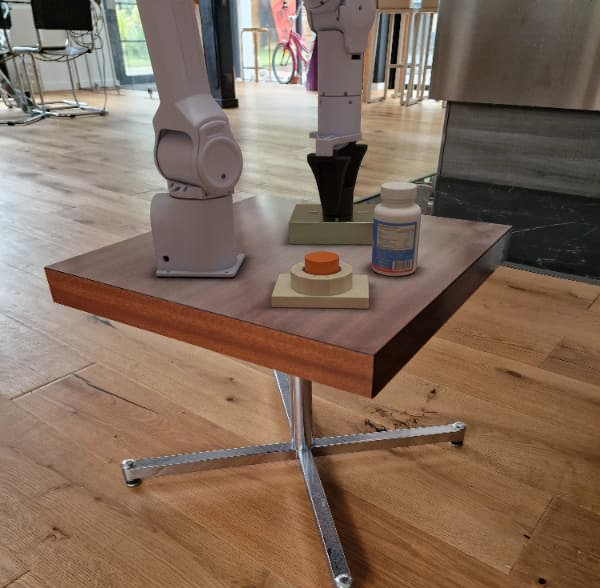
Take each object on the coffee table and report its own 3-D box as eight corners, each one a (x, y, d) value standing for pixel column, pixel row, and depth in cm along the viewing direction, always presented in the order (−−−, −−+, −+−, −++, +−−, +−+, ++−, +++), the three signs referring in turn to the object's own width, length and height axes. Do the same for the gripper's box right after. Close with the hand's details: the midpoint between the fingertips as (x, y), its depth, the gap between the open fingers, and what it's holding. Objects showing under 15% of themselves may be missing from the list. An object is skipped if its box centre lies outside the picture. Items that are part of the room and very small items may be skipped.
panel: (289, 244, 79) (288, 220, 77) (296, 223, 88) (295, 202, 86) (383, 244, 78) (385, 221, 76) (380, 224, 87) (381, 203, 85)
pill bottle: (382, 260, 72) (387, 178, 67) (422, 266, 69) (431, 182, 64) (363, 272, 68) (367, 187, 63) (405, 280, 65) (413, 191, 60)
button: (303, 277, 59) (303, 261, 58) (306, 266, 62) (305, 251, 61) (338, 278, 59) (338, 261, 58) (339, 267, 62) (339, 251, 61)
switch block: (271, 307, 59) (270, 279, 57) (279, 283, 65) (278, 258, 63) (368, 308, 58) (370, 280, 57) (367, 285, 64) (368, 258, 63)
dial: (348, 216, 79) (349, 187, 77) (318, 214, 80) (318, 185, 78) (356, 209, 82) (357, 181, 80) (327, 207, 84) (327, 179, 82)
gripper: (326, 92, 81) (325, 192, 88) (291, 99, 69) (294, 213, 76) (375, 92, 79) (370, 194, 86) (348, 99, 67) (345, 217, 74)
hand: (337, 203), depth 81 cm, fingers open, 7 cm apart
